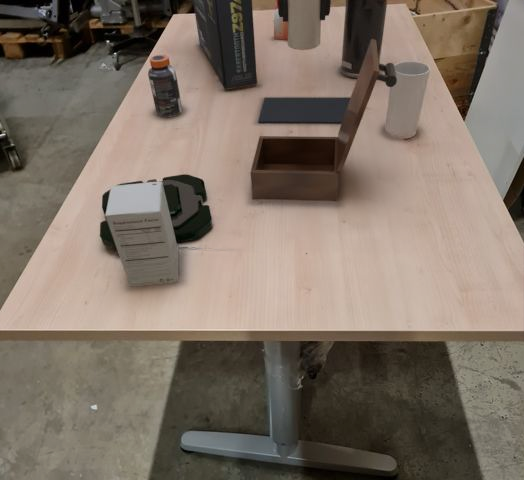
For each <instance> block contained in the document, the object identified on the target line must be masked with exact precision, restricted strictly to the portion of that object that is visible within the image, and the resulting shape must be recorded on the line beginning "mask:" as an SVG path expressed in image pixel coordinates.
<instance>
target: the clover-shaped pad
mask: <svg viewBox="0 0 524 480" xmlns="http://www.w3.org/2000/svg"><path fill="white" fill-rule="evenodd" d="M148 182H162V183H163V187H164V192H165V196H166V200H167V204H168V209H169V213H170V217H171V222H172V226H173V230H174V234H175V239H176V243H179V242H186V241H192V240H197V239H199V238H201V237H202V236H204V235H205V234H206V233H207V232H208V231H210V229H212V228H213V225H214V223H213V218H212V213H211V209H210V205H208V204H204V201H205V200H206V199H208V194H207V189H206V185H205V181H204V180H203V178H200V177H197V176H194V175H191V174H187V173H185V174H178V175H177V174H176V175H171V176H165V177H163V178H162V180H159V181H158V180H157V179H156V178H153V179H147V181H146V183H148ZM138 183H144V181H143V180H136V181H130V182H124V183H123V182H122V183H118V184H116V185H115V186H118V185H128V184H138ZM109 194H110V189H109V190H107V191H105V192H104V193H103V194H102V195H101V196H102V197H101V208H102V211H103V214H104V215H106V209H107V204H108V199H109ZM99 237H100V240H101V243H102V244H103V246H106V247H108V248H111V249H113V250H115V251H117V248H116V245H115V242H114V239H113V236H112V233H111V230H110V228H109V225H108V222H107V219H106V220H102V221H101V222H100V224H99Z"/></svg>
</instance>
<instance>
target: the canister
mask: <svg viewBox="0 0 524 480" xmlns="http://www.w3.org/2000/svg"><path fill="white" fill-rule="evenodd" d="M287 17H288V40H287V46H288V47H289V48H290V49H293V50H297V51H308V50H312V49H316V48H318V47H319V46H320V45H321V34H322V33H321V31H322V20H321V0H287Z"/></svg>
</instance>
